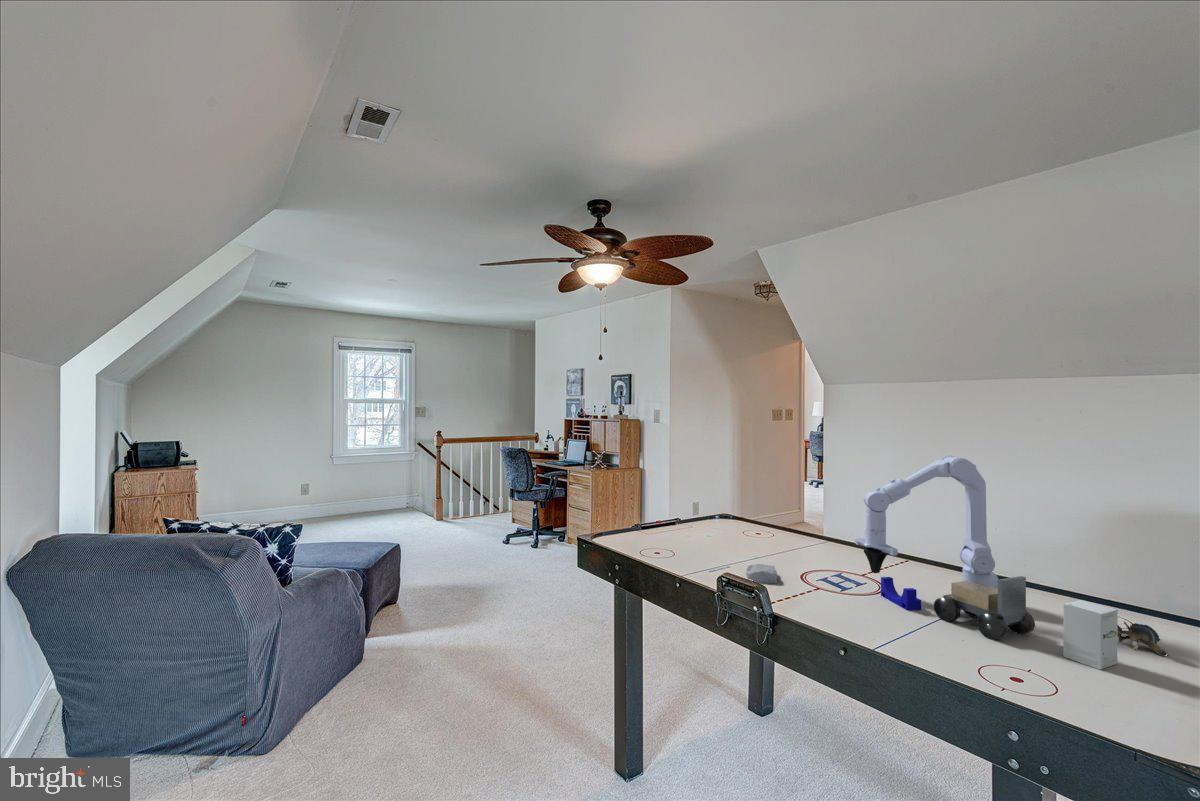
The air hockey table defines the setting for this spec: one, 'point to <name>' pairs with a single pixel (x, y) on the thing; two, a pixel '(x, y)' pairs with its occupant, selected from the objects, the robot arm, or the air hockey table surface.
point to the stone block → (762, 573)
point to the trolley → (989, 606)
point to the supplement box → (1090, 634)
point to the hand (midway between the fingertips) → (875, 572)
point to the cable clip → (905, 601)
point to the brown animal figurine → (1141, 636)
